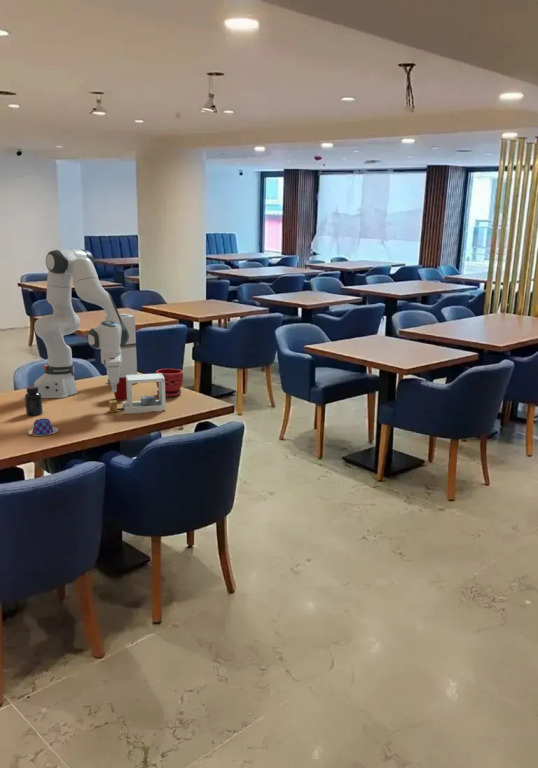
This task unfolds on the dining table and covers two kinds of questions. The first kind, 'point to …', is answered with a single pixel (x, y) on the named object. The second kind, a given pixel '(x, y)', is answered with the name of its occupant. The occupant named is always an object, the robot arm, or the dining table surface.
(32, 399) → the supplement bottle
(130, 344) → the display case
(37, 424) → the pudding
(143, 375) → the shelf
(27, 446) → the dining table surface
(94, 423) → the dining table surface
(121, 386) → the plastic cup
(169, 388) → the plant pot
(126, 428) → the dining table surface
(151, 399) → the grey mallet
